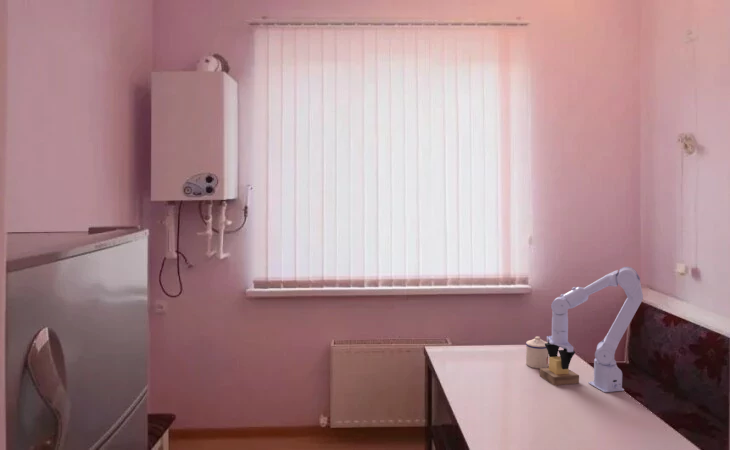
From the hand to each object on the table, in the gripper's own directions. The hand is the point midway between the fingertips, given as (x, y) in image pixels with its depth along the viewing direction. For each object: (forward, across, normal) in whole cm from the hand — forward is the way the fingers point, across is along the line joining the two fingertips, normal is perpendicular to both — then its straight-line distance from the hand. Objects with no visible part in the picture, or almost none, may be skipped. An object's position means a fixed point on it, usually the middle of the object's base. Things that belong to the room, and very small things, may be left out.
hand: (559, 365), depth 200 cm
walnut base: (+5, 0, 0) cm, 5 cm away
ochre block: (+2, 0, 0) cm, 2 cm away
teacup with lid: (+6, -18, +1) cm, 19 cm away
